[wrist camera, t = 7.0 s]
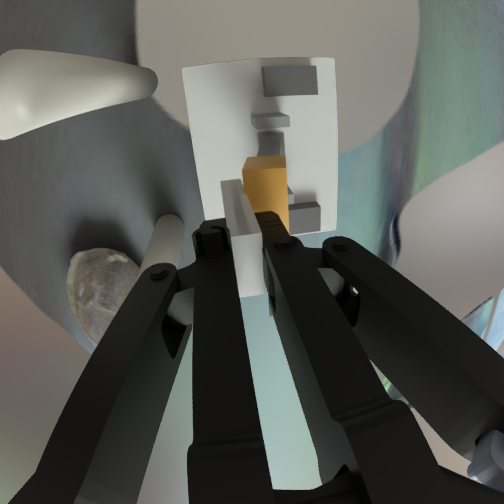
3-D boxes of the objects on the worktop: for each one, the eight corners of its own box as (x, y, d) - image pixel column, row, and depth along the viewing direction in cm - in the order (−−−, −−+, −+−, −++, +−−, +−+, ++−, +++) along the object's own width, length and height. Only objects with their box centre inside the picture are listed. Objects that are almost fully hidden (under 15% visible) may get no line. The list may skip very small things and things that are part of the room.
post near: (123, 72, 22) (-26, 74, 5) (155, 64, 22) (36, 33, 5) (128, 102, 23) (-14, 151, 7) (159, 95, 24) (47, 121, 7)
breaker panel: (187, 71, 23) (176, 65, 16) (314, 61, 23) (349, 55, 16) (211, 223, 31) (210, 265, 25) (319, 208, 32) (347, 245, 25)
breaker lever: (258, 131, 22) (241, 170, 13) (283, 130, 21) (286, 167, 13) (262, 178, 24) (250, 245, 15) (286, 177, 24) (289, 244, 15)
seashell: (75, 237, 25) (51, 374, 24) (177, 269, 32) (148, 391, 30) (76, 237, 33) (55, 345, 31) (156, 262, 39) (132, 361, 38)
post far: (152, 216, 30) (98, 378, 13) (181, 211, 30) (151, 377, 13) (159, 242, 32) (122, 406, 15) (187, 238, 32) (169, 405, 15)
